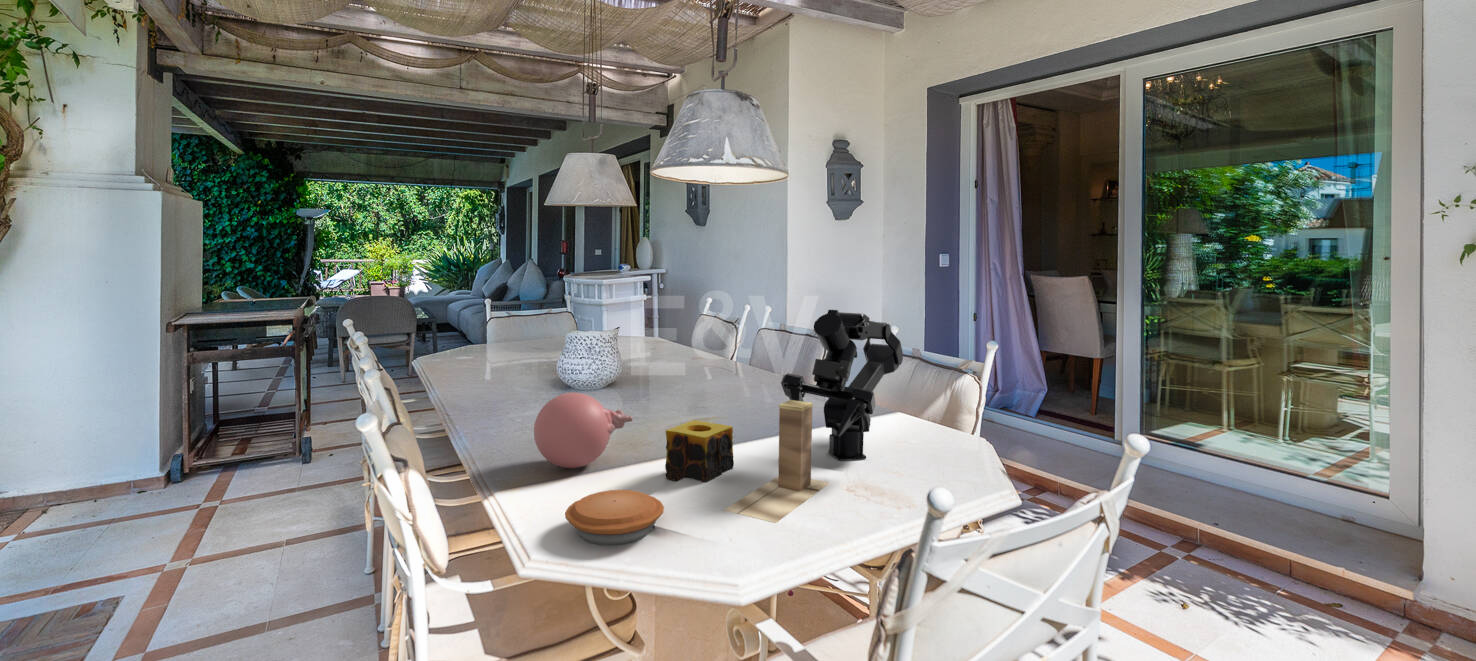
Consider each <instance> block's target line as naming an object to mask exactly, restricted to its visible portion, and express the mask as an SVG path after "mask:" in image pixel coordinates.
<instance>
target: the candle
mask: <svg viewBox="0 0 1476 661" xmlns="http://www.w3.org/2000/svg"><path fill="white" fill-rule="evenodd" d="M733 433H734V426H731V425H727V424H721V423H714V422H710V421H709V422H707V421H702V420H701V421H700V420H695V419H694V420H690V421H688V422H685V423H682V424H680V425H676V426H675V427H671V428H668V429H666V430H665V437H666V446H665V449H666V459H665V466H664V469H665V478H666V479H667V480H670V481H674V482H679V481H681V480H683V479H692V480H696V481H699V482H701V483H708V482H711V481H712V480H714V479H716V478H718V477H721V475H723V474H724V473H726V472H728V471H730V470H733V469H734V465H735V463H734V462H735V461H734V450H733V449H734V443H733V442H734V440H733V438H734V436H733Z"/></svg>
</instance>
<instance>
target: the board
mask: <svg viewBox="0 0 1476 661" xmlns="http://www.w3.org/2000/svg"><path fill="white" fill-rule="evenodd" d="M829 484H831V482H829V481H823V480H818V479H814V478H813V479H812V478H811V485H809V486H808V487H806V488H805V489H803V490H802V491H801V492H799V491H795V490H790V489H785V488H781V487H778V476H777V477H775V478H773V479H771V480H770V481H768V482H767V483H765V484H763V485H762V486H760V487H758V488H757V489H756V490H753V491H752V492H750V493H749V494H747V495H746V496H743V497H742V498H740V499H739V500H738V501H735V502H734V503H733V504H731V505H730V506H728V507H726V508H724V509H723V511H725V512H728V513H733V514H736V515H741V516H746V517H748V518H749V517H750V518H754V519H758V520H762V521H765V522H771V523H775V524H776V523H778V522H780V521H781V520H782V519H784V518H785V517H786V516H788V515H789V514H790V513H792V512H793V511H794V510H795V509H797V508H798V507H800V506H801V505H803V504H804V503H805V502H807V501H808V500H809V499H811V498H812V497H813V496H815V495H816V494H818V493H819V492H820V491H821V490H823V489H824V488H826V487H827V486H828V485H829Z"/></svg>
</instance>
